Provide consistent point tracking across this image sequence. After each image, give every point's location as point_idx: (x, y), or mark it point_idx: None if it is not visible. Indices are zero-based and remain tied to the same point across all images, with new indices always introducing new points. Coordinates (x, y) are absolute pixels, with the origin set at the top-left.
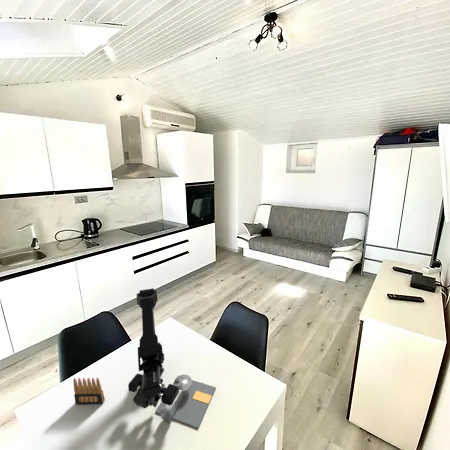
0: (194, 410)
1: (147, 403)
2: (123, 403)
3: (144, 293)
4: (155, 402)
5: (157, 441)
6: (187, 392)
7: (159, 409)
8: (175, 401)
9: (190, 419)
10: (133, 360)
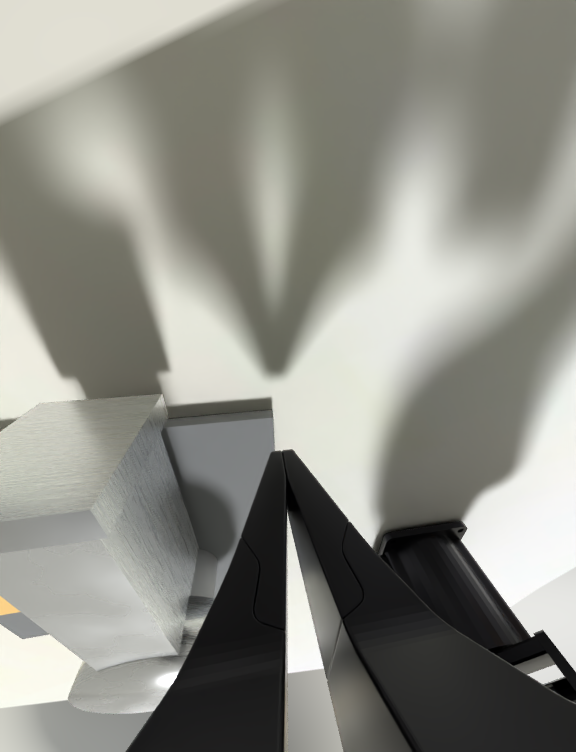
0: None
1: None
2: (543, 368)
3: None
4: (242, 548)
5: (19, 184)
6: None
7: (249, 439)
8: (31, 614)
9: None
10: (543, 541)
